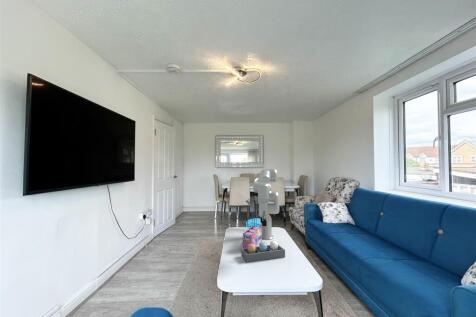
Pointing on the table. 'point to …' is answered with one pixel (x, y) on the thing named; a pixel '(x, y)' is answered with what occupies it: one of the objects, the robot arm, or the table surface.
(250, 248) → the peach rounded egg shape
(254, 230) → the gum box
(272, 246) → the white rounded piece
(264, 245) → the pale blue rounded piece
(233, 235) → the table surface
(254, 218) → the geometric lantern
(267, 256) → the gray compartment tray
